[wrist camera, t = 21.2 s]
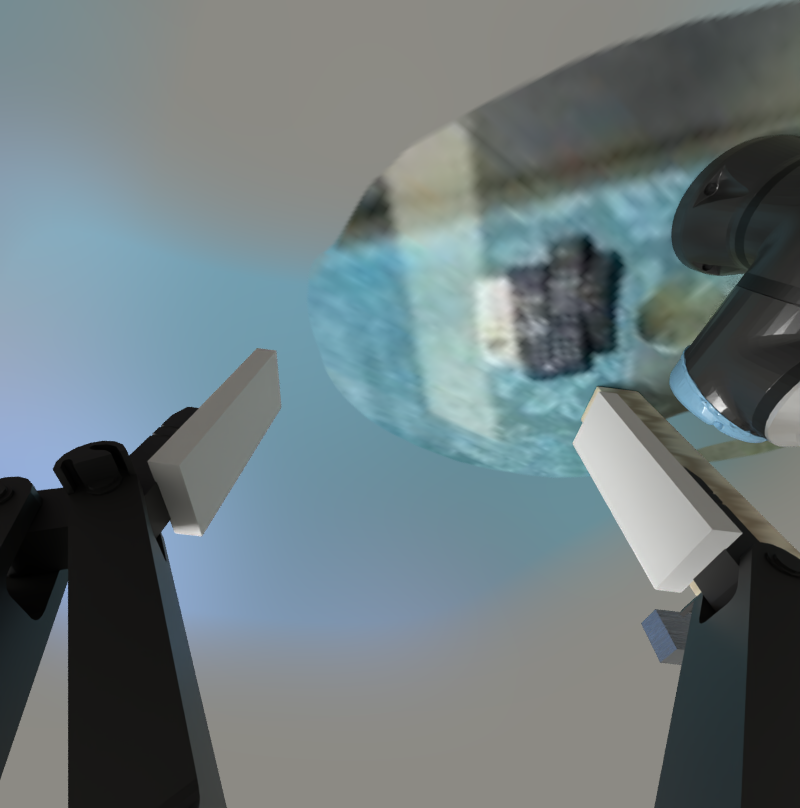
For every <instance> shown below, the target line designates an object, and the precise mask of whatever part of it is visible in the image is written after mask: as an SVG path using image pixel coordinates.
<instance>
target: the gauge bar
mask: <svg viewBox="0 0 800 808" xmlns="http://www.w3.org/2000/svg"><path fill="white" fill-rule="evenodd" d="M679 613H680V612H675V611H666V610H657V609H655V610H654V611H653V612H652V613H651V614H650V615H649V616H648V617H647V618H646V619H645V620H644V621H643V622H642V623H641V624H642V626H643V628H644V630H645V632H646V634H647V636H648V638H649V640H650V642H651V645H652V647H653V649H654V650H655V653H656V654H657V657H658V659H659V661H660V663H670V664H679V665H682V661H683V655H684V650H685V645H686V640H687V635H688V629H689V624H690V619H691V614H692V613H687V614H686V615H685V616H684V617H683V616H681V615H680V614H679Z"/></svg>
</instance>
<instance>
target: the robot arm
mask: <svg viewBox="0 0 800 808" xmlns="http://www.w3.org/2000/svg"><path fill="white" fill-rule="evenodd" d="M672 245H673V249H674V251H675V254H676V256H677V257H678V259H679V260H680V261H681V262H682V263H683V264H684V265H685V266H687V267H689V268H691V269H693V270H696V271H699V272H702V273H705V274H709V275H717V276H726V275H736V274H744V276H743V277H742V278H741V280H740V281H739V282H738V284H737V285H736V286H735V287H734V289H733V290H732V291H731V293H730V294H729V295H728V296H727V298H726V299H725V300H724V302H723V303H722V304H721V306H720V307H719V308H718V310H717V311H716V312H715V314H714V315H713V316H712V318H711V319H710V320H709V322H708V323H707V324H706V326H705V327H704V328H703V329H702V331H701V332H700V333H699V335H698V336H697V337H696V339H695V340H694V341H693V343H692V344H691V345H689V346H687V347H686V348H685V350H684V351H683V354H682V355H681V359H680V360H679V362H678V363H677V364H676V366H675V367H674V369H673V370H672V372H671V374H670V382H669V383H670V387H671V390H672V392H673V393H674V395H675V396H676V398H677V399H678V400H679V401H680V402H681V404H683V405H684V406H685V407H686V408H687V409H688V410H689V411H690V412H691V413H693V414H694V415H695V416H697V417H698V418H699V419H700V420H702V421H703V422H705V423H707V424H708V425H714V426H715V427H716V428H717V429H718V430H719V431H721V432H722V433H724V434H727V435H728V436H731V437H733V438H735V439H738V440H741V441H745V442H750V443H761V442H764V441H767V440H768V441H769V442H771V443H773V444H775V445H776V446H780V447H800V137H799V136H792V135H779V136H770V137H762V138H757V139H753V140H750V141H747V142H744V143H742V144H740V145H738V146H736V147H734V148H732V149H730V150H728V151H727V152H725V153H724V154H722V155H721V156H719V157H718V158H717V159H715V160H714V161H713V162H712V163H710V164H709V165H708V166H707V167H706V168H705V169H704V170H703V171H702V172H701V173H700V174H699V175H698V176H697V178H696V179H695V180H694V181H693V182H692V184H691V185H690V187H689V188H688V189H687V191H686V193H685V194H684V196H683V198H682V199H681V201H680V203H679V206H678V208H677V210H676V213H675V216H674V220H673V225H672ZM280 409H281V398H280V387H279V376H278V364H277V353H276V351H275V350H267V349H259V348H257V349H256V350H255V351H254V352H253V353H252V354H251V355H250V356H249V357H248V358H247V359H246V360H245V361H244V362H243V363H242V364H241V365H240V366H239V367H238V369H237V370H236V371H235V372H234V373H233V374H232V375H231V376H230V377H229V378H228V379H227V380H226V381H225V382H224V383H223V384H222V385H221V386H220V387H219V388H218V389H217V390H216V391H215V392H214V393H213V394H212V395H211V396H210V397H209V398H208V399H207V400H206V402H205V403H204V404H203V405H202V406H201V407H200V408H194V407H187V408H185V409H183V410H181V411H179V412H177V413H175V414H173V415H172V416H171V417H170V418H169V419H167V420H166V421H165V422H164V423H163V424H162V425H161V427H159V428H158V429H157V430H156V431H155V432H154V433H153V435H152V436H149V437H148V438H147V439H146V440H145V441H144V442H143V443H142V444H141V445H140V446H139V447H138V448H137V449H136V450H135V451H134V452H133V453H132V454H130V455H128V452H127V450H126V448H125V447H124V446H123V444H120V443H118V442H115V441H100V442H93V443H89V444H86V445H83V446H80V447H77V448H75V449H73V450H71V451H70V452H68V453H66V454H64V455H63V456H62V457H61V458H60V459H59V460H58V461H57V462H56V463H55V466H54V468H53V471H54V472H55V474H56V476H57V477H58V479H59V481H60V482H61V484H62V486H63V488H57V489H48V490H40V491H37V490H36V489H35V487H34V486H33V484H32V483H31V482H30V481H29V480H28V479H26V478H22V477H5V478H1V479H0V778H1V775H2V772H3V769H4V767H5V764H6V761H7V758H8V755H9V752H10V749H11V746H12V743H13V740H14V737H15V734H16V731H17V729H18V726H19V723H20V720H21V717H22V714H23V711H24V708H25V705H26V702H27V699H28V696H29V693H30V690H31V688H32V685H33V682H34V678H35V676H36V673H37V670H38V667H39V664H40V661H41V658H42V655H43V652H44V650H45V646H46V644H47V641H48V638H49V635H50V632H51V629H52V626H53V623H54V620H55V617H56V614H57V611H58V608H59V605H60V603H61V599H62V597H63V594H64V591H65V588H66V585H67V582H68V808H227V807H226V803H225V799H224V794H223V790H222V786H221V781H220V777H219V773H218V768H217V764H216V760H215V756H214V752H213V747H212V743H211V739H210V734H209V730H208V726H207V721H206V717H205V713H204V709H203V704H202V700H201V696H200V692H199V687H198V683H197V679H196V675H195V670H194V666H193V662H192V657H191V653H190V649H189V645H188V640H187V636H186V632H185V628H184V623H183V619H182V615H181V610H180V606H179V602H178V598H177V593H176V589H175V585H174V581H173V576H172V572H171V568H170V563H169V559H168V555H167V551H166V547H165V542H164V538H163V536H162V534H161V532H162V530H163V529H164V527H165V526H166V525H167V523H168V522H169V521H170V522H171V524H172V527H173V529H174V532H175V533H177V534H185V535H194V536H203V534H204V532H205V531H206V529H207V528H208V526H209V524H210V523H211V521H212V519H213V518H214V516H215V515H216V513H217V511H218V510H219V508H220V506H221V505H222V503H223V502H224V500H225V498H226V497H227V495H228V493H229V492H230V490H231V489H232V487H233V485H234V484H235V482H236V480H237V479H238V477H239V476H240V474H241V472H242V471H243V469H244V467H245V466H246V464H247V462H248V461H249V459H250V458H251V456H252V454H253V453H254V451H255V449H256V448H257V446H258V444H259V443H260V441H261V439H262V438H263V436H264V435H265V433H266V432H267V430H268V428H269V427H270V425H271V423H272V422H273V420H274V419H275V417H276V415H277V414H278V412H279V410H280ZM573 445H574V447H575V449H576V450H577V452H578V454H579V456H580V457H581V459H582V461H583V463H584V465H585V466H586V468H587V470H588V472H589V473H590V475H591V477H592V478H593V481H594V482H595V484H596V486H597V488H598V489H599V491H600V493H601V495H602V496H603V498H604V500H605V502H606V504H607V505H608V507H609V509H610V511H611V512H612V514H613V516H614V518H615V519H616V521H617V523H618V525H619V526H620V528H621V530H622V532H623V534H624V535H625V537H626V539H627V541H628V542H629V544H630V546H631V548H632V550H633V551H634V553H635V555H636V557H637V559H638V560H639V562H640V564H641V566H642V567H643V569H644V571H645V573H646V574H647V576H648V578H649V580H650V582H651V583H652V585H653V587H654V588H655V590H662V591H672V592H680V593H681V592H682V591H683V590H684V589H685V588H686V587H687V586H688V585H689V584H690V583H692V582H693V581H694V582H695V583H696V585H697V586H698V588H699V589H700V591H701V593H700V594H699V595H698V596H696V598H694V599H693V600H692V601H691V602H690V603H689V604H688V605H687V606H685V607H684V608H683V609H682V611H681V612H680V613H679V614H680V615H681V616H683V617H684V616H685V615H686V614H687V613H692V614H691V619H690V624H689V629H688V635H687V640H686V645H685V650H684V655H683V661H682V666H681V671H680V676H679V682H678V687H677V692H676V697H675V702H674V708H673V713H672V718H671V723H670V729H669V734H668V739H667V744H666V749H665V755H664V760H663V766H662V770H661V775H660V781H659V786H658V791H657V796H656V802H655V807H654V808H800V559H799V558H798V557H796V556H794V555H793V554H791V553H789V552H788V551H786V550H784V549H782V548H780V547H777V546H775V545H773V544H769V543H764V542H759V540H758V539H757V538H756V537H755V536H754V535H753V534H752V533H751V532H750V531H749V530H748V529H747V528H746V526H745V525H744V524H743V523H742V522H741V521H740V520H739V519H738V518H737V517H736V516H735V515H734V513H733V512H732V511H731V510H730V509H729V508H728V507H727V506H726V505H723V502H722V501H721V499H720V498H719V497H718V496H717V495H716V494H713V491H712V490H711V489H710V488H709V486H708V485H707V484H706V483H705V482H704V481H703V480H702V479H701V478H700V477H698V476H697V475H695V474H694V473H693V472H691V471H690V470H689V469H687V468H686V467H683V466H682V465H681V464H680V463H679V462H678V461H677V460H676V459H675V457H674V456H673V455H672V454H671V453H670V452H669V451H668V450H667V449H666V447H665V446H664V445H663V444H662V443H661V442H660V441H659V440H658V439H657V437H656V436H655V435H654V434H653V433H652V432H651V431H650V430H649V429H648V427H647V426H646V425H645V424H644V423H643V422H642V421H641V420H640V419H639V417H638V416H637V415H636V414H635V413H634V412H633V411H632V410H631V409H630V407H629V406H628V405H627V404H626V403H625V402H624V401H623V400H622V399H621V397H620V396H619V395H618V394H616V393H608V392H600V391H598V393H597V395H596V397H595V399H594V401H593V403H592V405H591V407H590V409H589V411H588V413H587V415H586V417H585V419H584V421H583V423H582V425H581V427H580V429H579V431H578V433H577V435H576V437H575V439H574V441H573Z"/></svg>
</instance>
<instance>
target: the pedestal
mask: <svg viewBox="0 0 800 808" xmlns="http://www.w3.org/2000/svg"><path fill="white" fill-rule="evenodd" d="M598 391H600V392H608V393H616V394H618V395H619V396H620V397H621V399H622V400H623V401H624V402H625V403H626V404H627V405H628V406H629V407H630V409H631V410H632V411H633V412H634V413H635V414H636V415H637V416H638V417H639V419H640V420H641V421H642V422H643V423H644V424H645V425H646V426H647V427H648V429H649V430H650V431H651V432H652V433H653V434H654V435H655V436H656V437H657V439H658V440H659V441H660V442H661V443H662V444H663V445H664V446H665V447H666V449H667V450H668V451H669V452H670V453H671V454H672V455H673V456H674V457H675V459H676V460H677V461H678V462H679V463H680V464H681V465H682V466H683V467H686V468H687V469H689V470H690V471H691V472H693V473H694V474H695V475H697V476H698V477H700V478H701V479H702V480H703V481H704V482H705V483H706V484H707V485H708V486H709V488H710V489H711V490H712V491H713V494H716V495H717V496H718V497H719V498H720V499H721V501H722V502H723V505H726V506H727V507H728V508H729V509H730V510H731V511H732V512H733V513H734V515H735V516H736V517H737V518H738V519H739V520H740V521H741V522H742V523H743V524H744V525H745V526H746V528H747V529H748V530H749V531H750V532H751V533H752V534H753V535H754V536H755V537H756V538H757V539H758V540H759V542H764V543H769V544H773V545H775V546H777V547H780V548H782V549H784V550H786V551H788V552H789V553H791V554H793V555H794V556H796V557H798V558H799V559H800V553H799V552H798V551H797V550H796V549H795V548H794V547H793V546H792V545H791V544H790V543H789V542H788V541H787V540H786V539H785V538H784V537H783V536H782V535H781V534H780V533H779V532H778V531H777V530H776V529H775V528H774V527H773V526H772V525H771V524H770V523H769V522H768V521H767V520H766V519H765V518H764V517H763V516H762V515H761V514H760V513H759V512H758V511H757V510H756V509H755V508H754V507H753V506H752V505H751V504H750V503H749V502H748V501H747V500H746V499H745V498H744V497H743V496H742V495H741V494H740V493H739V492H738V491H737V490H736V489H735V488H734V487H733V486H732V485H731V484H730V483H729V482H728V481H727V480H726V479H725V478H724V477H723V476H722V475H721V474H720V473H719V472H718V471H717V470H716V469H715V468H714V467H713V466H712V465H711V464H710V463H709V462H708V461H707V460H706V459H705V458H704V457H703V456H702V455H701V454H700V453H699V452H698V451H697V450H696V449H695V448H694V447H693V446H692V445H691V444H690V443H689V442H688V441H687V440H686V439H685V438H684V437H683V436H682V435H681V434H680V433H679V432H678V431H677V430H676V429H675V428H674V427H673V426H672V425H671V424H670V423H669V422H668V421H667V420H666V419H665V418H664V417H663V416H662V415H661V414H660V413H659V412H658V411H657V410H656V409H655V408H654V407H653V406H652V405H651V404H650V403H649V402H648V401H647V400H646V399H645V398H644V397H643V396H642V395H641V394H640V393H639V392H637V391H630V390H622V389H614V388H606V387H598V386H597V388H596V390H595V392H594V394H593V396H592V398H591V400H590V402H589V404H588V406H587V408H586V410H585V412H584V414H583V416H582V418H581V420H582V422H583V421H584V419H585V417H586V415H587V413H588V411H589V409H590V407H591V405H592V403H593V401H594V399H595V397H596V395H597V393H598ZM689 586H690V587H691V589H692V590H693V592H694V593H695V594H696V596H698V595H699V594H700V593H701V591H700V589H699V588H698V586H697V585H696V583H695V582H694V581H693V582H692V583H690V584H689Z"/></svg>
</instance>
